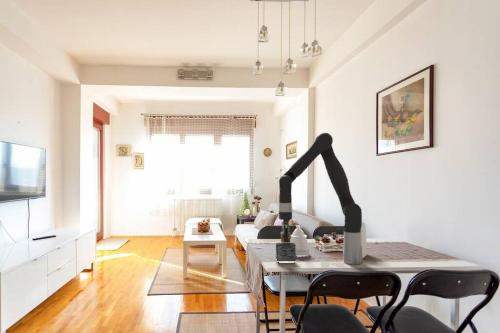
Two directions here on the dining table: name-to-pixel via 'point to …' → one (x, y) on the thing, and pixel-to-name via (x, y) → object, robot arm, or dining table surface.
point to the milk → (362, 240)
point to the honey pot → (300, 241)
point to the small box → (285, 252)
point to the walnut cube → (283, 237)
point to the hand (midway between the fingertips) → (285, 240)
